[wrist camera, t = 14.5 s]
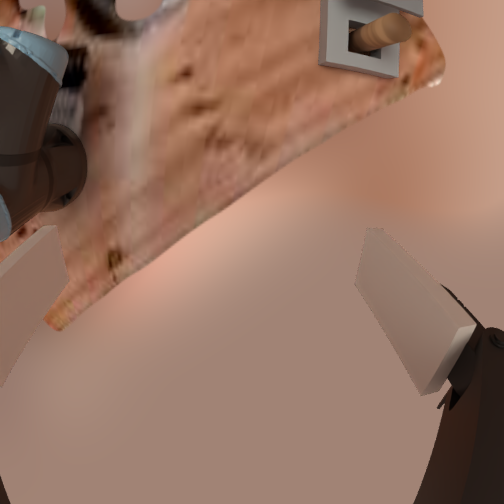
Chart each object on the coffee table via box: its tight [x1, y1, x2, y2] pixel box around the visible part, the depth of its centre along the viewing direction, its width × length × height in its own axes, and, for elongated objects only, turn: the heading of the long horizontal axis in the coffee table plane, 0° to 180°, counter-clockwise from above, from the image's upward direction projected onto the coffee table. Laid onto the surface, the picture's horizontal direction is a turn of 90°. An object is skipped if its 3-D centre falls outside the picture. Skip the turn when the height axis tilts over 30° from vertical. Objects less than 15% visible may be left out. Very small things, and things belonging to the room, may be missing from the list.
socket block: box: [318, 0, 423, 78], centre depth 32 cm, size 12×16×11 cm
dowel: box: [348, 13, 412, 54], centre depth 32 cm, size 4×4×14 cm
